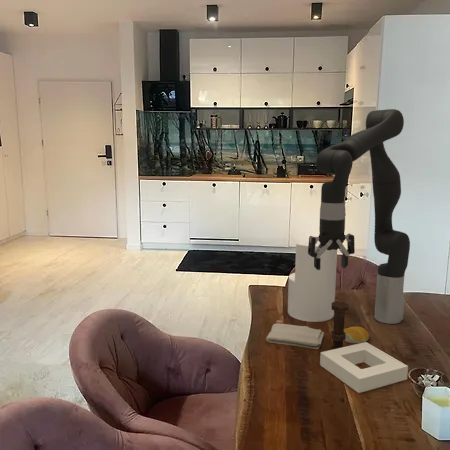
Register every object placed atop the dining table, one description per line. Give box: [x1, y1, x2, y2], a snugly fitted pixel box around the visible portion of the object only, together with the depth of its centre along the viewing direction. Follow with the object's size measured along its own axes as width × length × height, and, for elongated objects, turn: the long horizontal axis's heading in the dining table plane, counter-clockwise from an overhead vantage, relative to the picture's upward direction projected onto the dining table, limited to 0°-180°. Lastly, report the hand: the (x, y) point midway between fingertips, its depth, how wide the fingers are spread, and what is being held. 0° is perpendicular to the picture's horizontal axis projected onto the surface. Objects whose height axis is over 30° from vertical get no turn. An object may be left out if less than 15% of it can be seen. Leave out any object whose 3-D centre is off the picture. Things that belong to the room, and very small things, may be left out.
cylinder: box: [287, 241, 338, 323], centre depth 179 cm, size 17×17×28 cm
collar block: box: [319, 341, 409, 394], centre depth 137 cm, size 17×17×4 cm
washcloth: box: [265, 323, 325, 350], centre depth 159 cm, size 12×18×3 cm, turn 73°
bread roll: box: [343, 326, 370, 344], centre depth 159 cm, size 8×9×4 cm
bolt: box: [330, 300, 349, 350], centre depth 150 cm, size 6×5×15 cm
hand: (330, 268), depth 148 cm, fingers open, 8 cm apart
